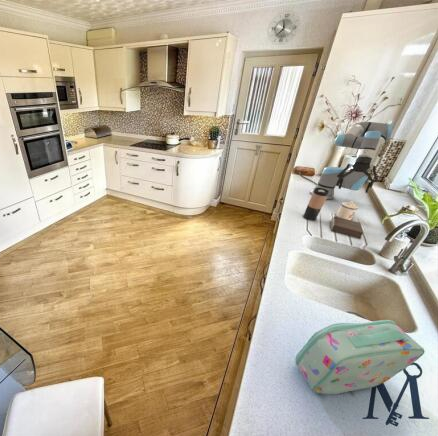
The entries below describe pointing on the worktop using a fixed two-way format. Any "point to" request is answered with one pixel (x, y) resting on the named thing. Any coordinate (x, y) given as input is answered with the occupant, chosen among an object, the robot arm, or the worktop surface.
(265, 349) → the worktop surface
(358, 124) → the robot arm
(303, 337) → the worktop surface
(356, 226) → the block
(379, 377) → the lunch box
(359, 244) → the worktop surface
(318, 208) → the travel mug
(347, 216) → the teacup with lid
